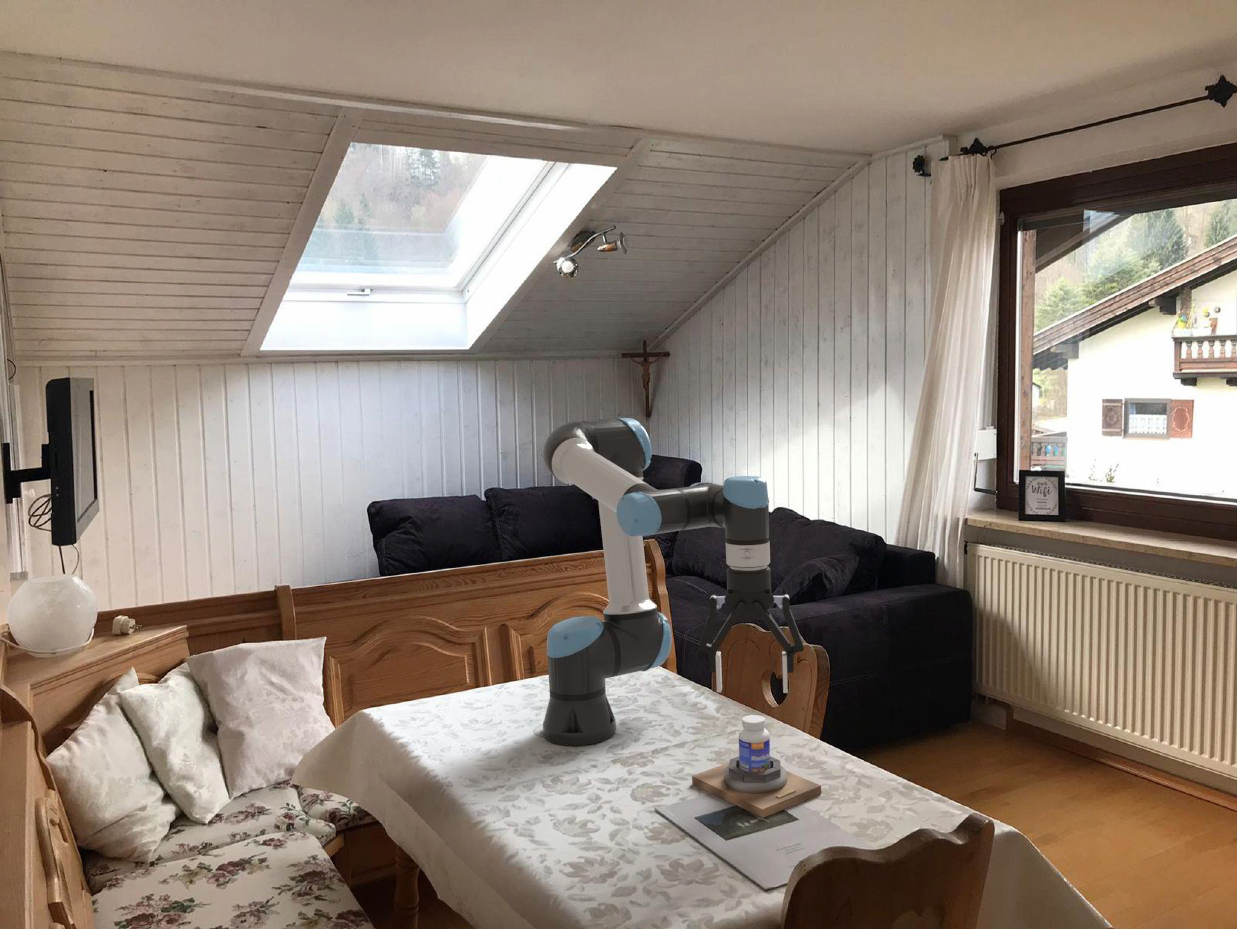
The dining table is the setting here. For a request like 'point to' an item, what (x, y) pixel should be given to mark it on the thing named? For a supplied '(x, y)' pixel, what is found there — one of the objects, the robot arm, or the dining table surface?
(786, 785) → the hub board
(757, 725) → the pill bottle
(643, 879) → the dining table surface
